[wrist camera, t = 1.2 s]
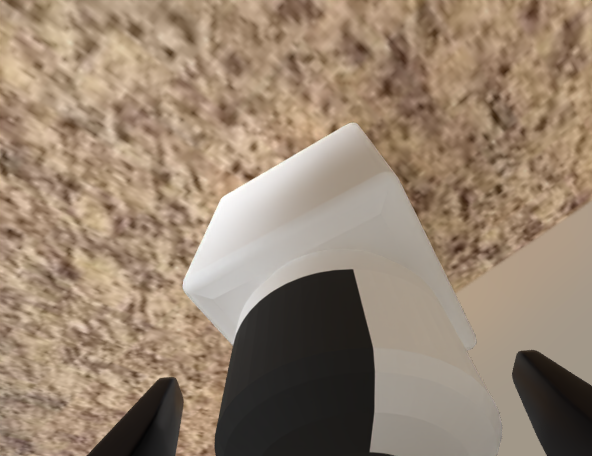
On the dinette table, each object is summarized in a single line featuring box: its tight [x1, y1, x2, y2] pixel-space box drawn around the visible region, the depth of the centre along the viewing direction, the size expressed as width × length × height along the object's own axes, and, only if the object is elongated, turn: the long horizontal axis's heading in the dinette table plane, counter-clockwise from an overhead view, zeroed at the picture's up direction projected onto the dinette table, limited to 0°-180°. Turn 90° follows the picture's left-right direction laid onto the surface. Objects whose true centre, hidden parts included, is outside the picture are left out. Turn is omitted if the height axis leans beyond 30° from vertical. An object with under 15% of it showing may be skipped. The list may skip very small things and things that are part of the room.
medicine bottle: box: [183, 122, 502, 456], centre depth 13 cm, size 7×7×12 cm
